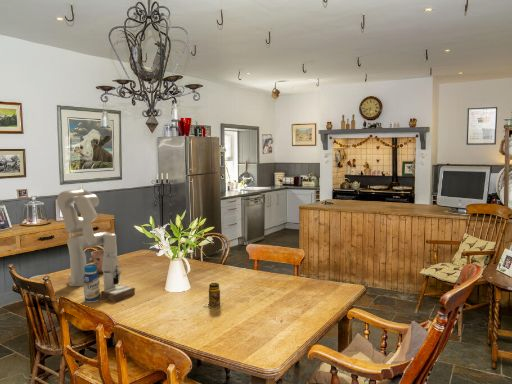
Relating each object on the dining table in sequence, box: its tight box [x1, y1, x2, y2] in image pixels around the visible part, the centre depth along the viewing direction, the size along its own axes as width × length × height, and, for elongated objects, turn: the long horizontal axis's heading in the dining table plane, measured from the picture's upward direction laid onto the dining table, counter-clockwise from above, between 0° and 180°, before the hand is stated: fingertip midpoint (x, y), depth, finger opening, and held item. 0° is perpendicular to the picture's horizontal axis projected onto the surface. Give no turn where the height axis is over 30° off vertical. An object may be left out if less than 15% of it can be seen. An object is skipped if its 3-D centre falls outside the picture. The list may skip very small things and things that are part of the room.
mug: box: [102, 271, 121, 291], centre depth 258 cm, size 10×7×12 cm, turn 133°
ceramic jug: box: [88, 249, 104, 274], centre depth 300 cm, size 18×14×14 cm
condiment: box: [203, 282, 223, 309], centre depth 231 cm, size 7×8×12 cm
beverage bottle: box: [83, 263, 101, 303], centre depth 241 cm, size 8×8×20 cm
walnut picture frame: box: [100, 284, 136, 303], centre depth 248 cm, size 12×14×4 cm
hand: (111, 282), depth 259 cm, fingers open, 7 cm apart
